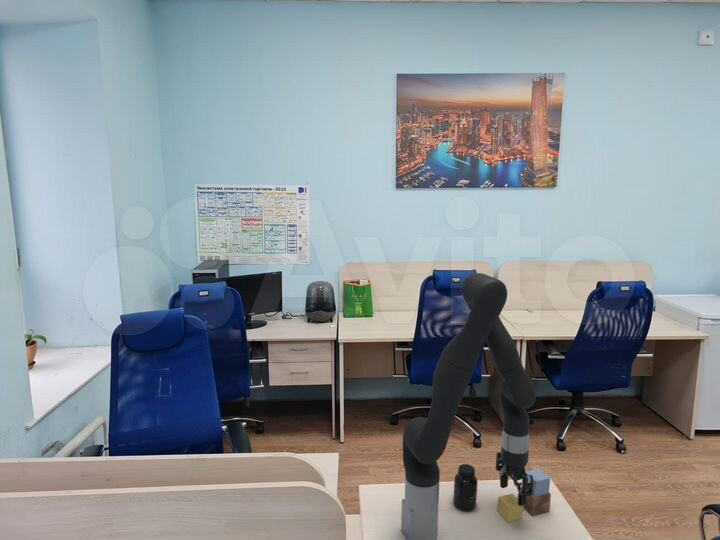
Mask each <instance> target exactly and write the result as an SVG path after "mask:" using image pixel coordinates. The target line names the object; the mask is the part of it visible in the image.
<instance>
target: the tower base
mask: <svg viewBox="0 0 720 540" xmlns="http://www.w3.org/2000/svg"><path fill="white" fill-rule="evenodd" d="M520 487H521V490H523V485H521V486H520ZM551 498H552V493H551V492H549V494H545V495H541V496H537V497H534V496H533V495H531V496H527V498H526V504H525V505H523V510H525V511H526V512H527V513H528V514H529V515H530V516H531V517H535V516H540V515H543V514H547V513H550V510H551Z"/></svg>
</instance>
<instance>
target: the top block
mask: <svg viewBox="0 0 720 540" xmlns="http://www.w3.org/2000/svg"><path fill="white" fill-rule="evenodd" d="M523 512H524V508H523V506H519V505H518V496H516V495H515V494H514V493H510V494H505V495H500V496H498V500H497V513H498V514H499V515H500V516H501V517H502V519H503V520H504V521H505V522H506V523H508V524H509V523H512V522H517V521H520V520H523V516H524V513H523Z"/></svg>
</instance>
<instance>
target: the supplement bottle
mask: <svg viewBox="0 0 720 540" xmlns="http://www.w3.org/2000/svg"><path fill="white" fill-rule="evenodd" d="M477 499H478V478H477V476H476V469H475V467H474V466H473V465H471V464H467V463H463V464H460V465H458V470H457V473H456V474H455V476H454V482H453V500H452V501H453V502H452V503H453V505H454V506H455V507H456V509H458V510H460V511H463V512H464V511H466V512H470V511H473V510H474V509H476V506H477Z"/></svg>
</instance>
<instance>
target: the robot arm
mask: <svg viewBox="0 0 720 540" xmlns="http://www.w3.org/2000/svg"><path fill="white" fill-rule="evenodd" d="M461 294H462V297H463V300H464V301H465V303H466V305H467V306H468V308H469V310H470V311H469V314H468V317H467V319H466V321H465V324H463V327H462V328H461V330H460V331H459V332H457V334H456V335H455V336H454V337H453V338H452V339H451V340H450V341H449V342H448V343H447V345H446V346H445V347H444V348H443V350H442V352H441V354H440V357H439V359H438V361H437V363H436V367H435V369H434V372H433V377H432V385H431V386H432V387H431V401H430V402H431V404H430V409H429V412H428V415H427V417H425V416H417V417H414V418H412V419H410V421H408V422H407V423H406V425H405V427H404V430H403V433H402V461H403V467H404V468H403V469H404V473H405V474H404V475H405V479H404V480H405V482H404V498H403V499H401V516H400V517H401V519H400V520H401V522H400V523H401V525H400V526H401V527H400V530H401V532H402V533H403V535H404V537H405V539H406V540H437V539H438V530H439V528H438V527H439V526H438V525H439V524H438V523H439V500H440V499H439V497H440V496H439V495H440V479H441V477H440V475H441V473H440V468H439V467H440V466H439V465H438V462H437V461H438V460H439V459H440V458H441V457H442V456H443V454H444V452H445V450H446V447H447V445H448V441H449V437H450V435H451V431H452V427H453V424H454V422H455V421H454V420H455V418H456V415H457V412H458V411H459V408H460V406H461V405H460V404H461V402H462V401H463V400H462V399H463V397H464V395H465V393H466V390H467V388H468V386H469V383H470V381H471V379H472V376H473V374H474V372H475V369H476V366H477V363H478V361H479V358H480V356H481V355H482V352H483V349H484V346H485V344H486V345H487V348H488V351H489V354H490V356H491V358H492V362H493V364H494V368H495V370H496V372H497V374H498V375H499V376H500V378H502V380H501V383H500V384H499V385H500V386H499V399H500V405H501V410H502V415H503V419H502V420H503V421H502V433H501V441H500V443H501V445H500V451H499V452H497V453H496V459H495V470H496V471H498V475H499V487H500V488H501V489H504V488H508V486H509V477H510V478H511V480H512V482H513V485H514V486H515V488H516V489H517V492H518V493H517V498H518V505H519V506H523V505H525V504H526V498H527V496H531V495H533V476H532V475H527V474H526V466H527V464H528V463H529V454H530V453H529V452H530V449H529V448H530V415H529V413H528V411H527V410H526V409H529V408H531V407H532V406H533V405H534V404H535V402H536V398H537V393H536V388H535V385H534V383H533V381H532V379H531V377H530V376H529V374H528V372H527V371H526V369H525V367H524V365H523V363H522V360H521V356H520V354H519V351H518V347H517V346H516V344H515V343H516V342H515V341H514V340H513V338H512V336H511V334H510V333H509V331H508V329H507V328H506V326H505V325H504V323H503V321H502V320H501V317H500V315H501V313H502V311H503V308H505V305H506V302H507V299H508V288H507V285H506V284H505V282H503V281H502V280H501V279H498V278H495V277H493V276H490V275H488V274H485V273H481V272H475V273H472V274H470V275H468V276H467V277H465V279H464V281H463V283H462V286H461ZM520 480H521V482H518V481H520ZM521 486H523V490H521ZM528 489H529V491H528Z"/></svg>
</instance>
